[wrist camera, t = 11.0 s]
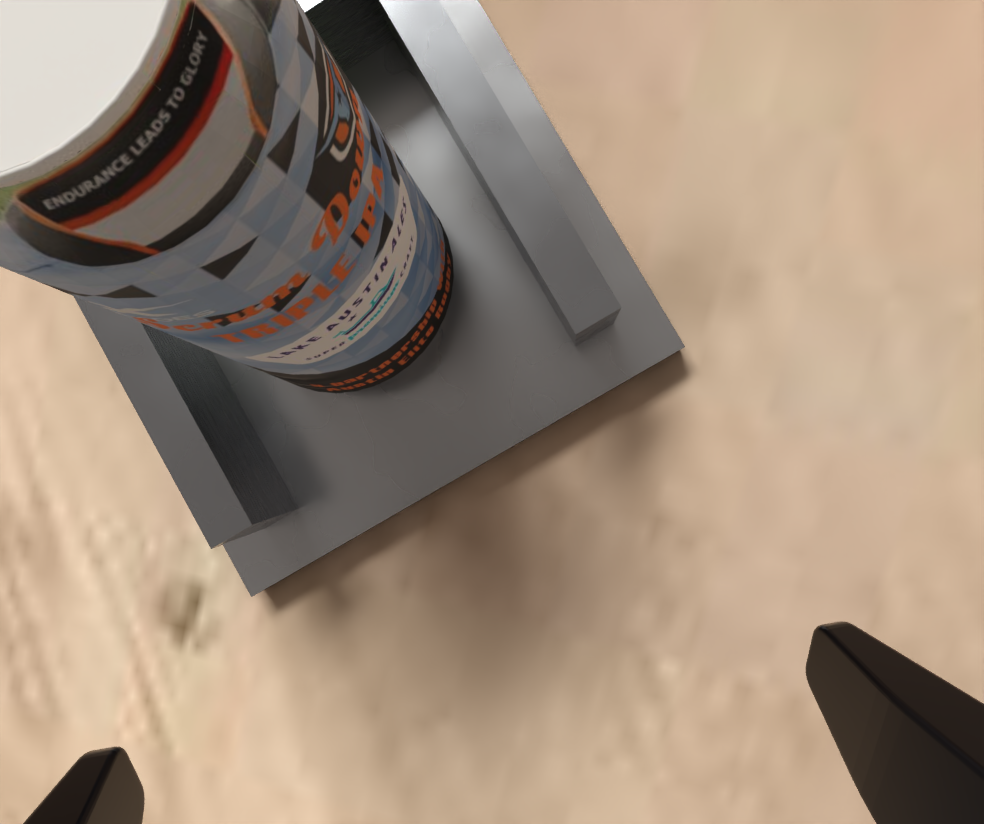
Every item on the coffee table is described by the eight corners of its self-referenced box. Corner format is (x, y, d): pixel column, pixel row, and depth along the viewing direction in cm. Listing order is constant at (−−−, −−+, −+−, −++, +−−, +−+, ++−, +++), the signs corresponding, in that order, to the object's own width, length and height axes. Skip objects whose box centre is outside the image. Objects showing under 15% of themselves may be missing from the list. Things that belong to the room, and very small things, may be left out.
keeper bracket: (680, 349, 20) (705, 334, 16) (263, 589, 21) (196, 628, 17) (427, -76, 21) (394, -185, 17) (40, 182, 22) (-70, 134, 18)
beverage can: (339, 439, 20) (-13, 464, 8) (186, 241, 21) (-350, -5, 9) (513, 294, 20) (408, 95, 8) (349, 95, 20) (16, -375, 8)
